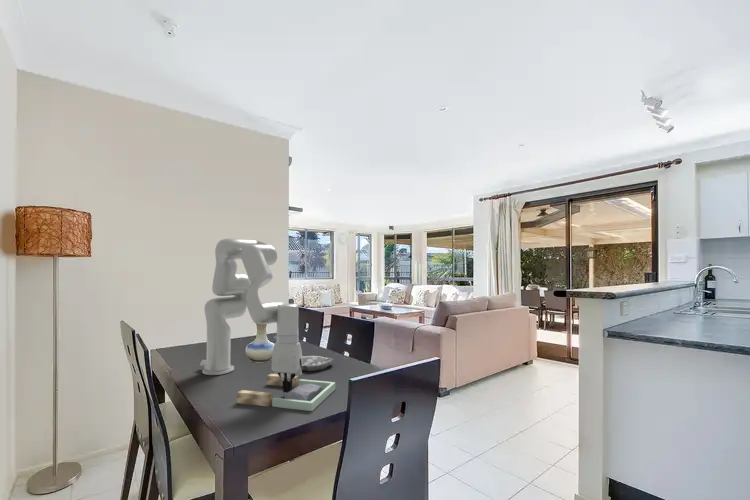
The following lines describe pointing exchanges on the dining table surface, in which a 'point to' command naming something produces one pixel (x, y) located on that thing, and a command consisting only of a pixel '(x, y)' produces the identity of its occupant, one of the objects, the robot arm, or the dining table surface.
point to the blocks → (263, 397)
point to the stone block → (304, 392)
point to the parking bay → (306, 405)
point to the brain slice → (315, 363)
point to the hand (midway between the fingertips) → (287, 391)
